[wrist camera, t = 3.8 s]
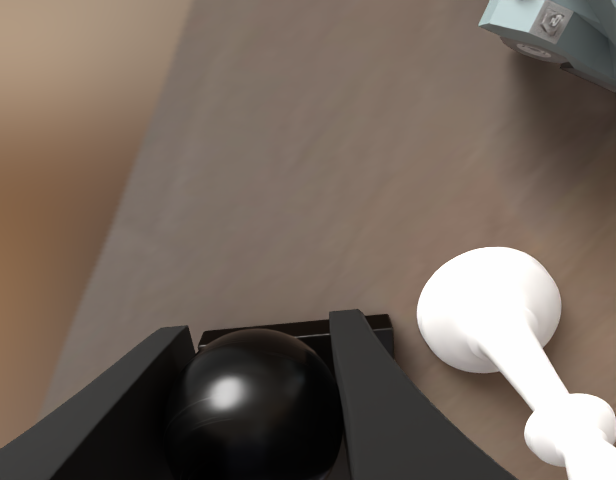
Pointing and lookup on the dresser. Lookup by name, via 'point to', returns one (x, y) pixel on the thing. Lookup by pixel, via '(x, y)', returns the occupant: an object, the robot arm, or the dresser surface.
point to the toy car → (560, 34)
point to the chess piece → (517, 352)
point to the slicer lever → (253, 411)
